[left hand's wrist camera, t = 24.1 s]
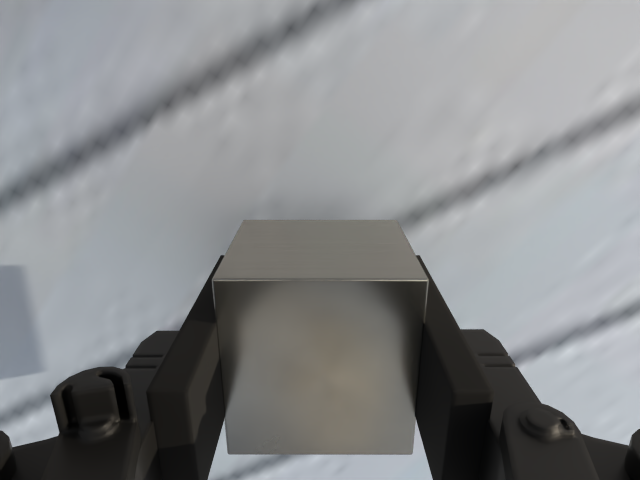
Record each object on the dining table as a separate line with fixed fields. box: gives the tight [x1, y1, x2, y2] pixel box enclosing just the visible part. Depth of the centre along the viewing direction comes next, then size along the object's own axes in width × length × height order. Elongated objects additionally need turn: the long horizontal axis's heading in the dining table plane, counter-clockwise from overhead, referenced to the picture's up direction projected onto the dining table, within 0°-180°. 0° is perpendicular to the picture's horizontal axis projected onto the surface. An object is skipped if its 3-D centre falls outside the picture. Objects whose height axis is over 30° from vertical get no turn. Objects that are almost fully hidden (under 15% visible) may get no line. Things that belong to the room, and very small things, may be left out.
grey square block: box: [212, 220, 429, 455], centre depth 13 cm, size 5×5×4 cm
